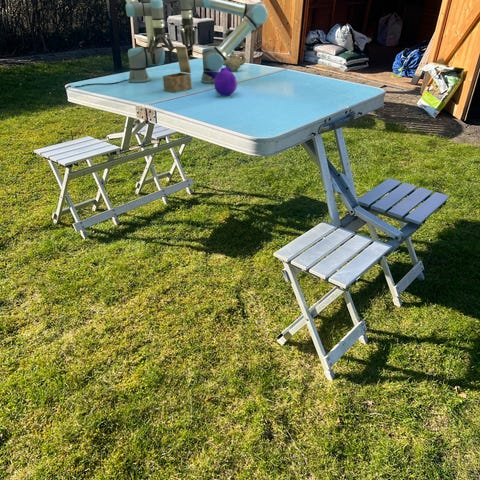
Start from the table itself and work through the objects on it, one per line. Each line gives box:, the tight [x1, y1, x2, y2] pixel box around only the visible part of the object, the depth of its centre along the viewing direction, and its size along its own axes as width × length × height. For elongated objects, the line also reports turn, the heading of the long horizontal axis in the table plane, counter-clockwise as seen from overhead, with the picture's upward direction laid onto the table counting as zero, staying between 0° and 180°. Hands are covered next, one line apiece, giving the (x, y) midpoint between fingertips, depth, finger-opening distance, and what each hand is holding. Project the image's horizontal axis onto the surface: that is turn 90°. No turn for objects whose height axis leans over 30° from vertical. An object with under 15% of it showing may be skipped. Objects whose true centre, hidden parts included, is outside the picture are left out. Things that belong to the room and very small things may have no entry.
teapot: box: [223, 50, 246, 72], centre depth 364 cm, size 21×12×15 cm, turn 120°
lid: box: [175, 45, 194, 74], centre depth 308 cm, size 17×10×8 cm
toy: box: [202, 66, 238, 97], centre depth 293 cm, size 16×18×27 cm
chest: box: [162, 72, 192, 93], centre depth 309 cm, size 16×10×10 cm, turn 136°
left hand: (162, 62), depth 295 cm, fingers open, 13 cm apart
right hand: (189, 55), depth 308 cm, fingers closed on lid, 2 cm apart
